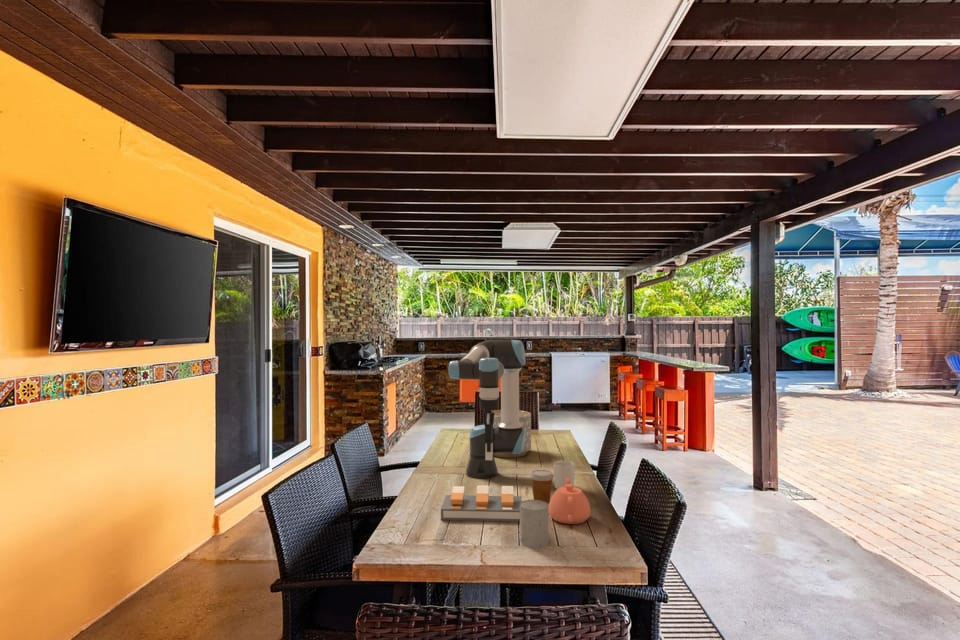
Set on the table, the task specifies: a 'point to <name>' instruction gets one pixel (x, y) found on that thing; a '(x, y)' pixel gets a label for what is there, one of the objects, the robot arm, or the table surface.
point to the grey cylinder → (534, 523)
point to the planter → (526, 425)
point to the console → (480, 510)
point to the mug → (563, 473)
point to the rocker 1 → (457, 495)
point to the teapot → (569, 505)
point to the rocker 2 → (482, 495)
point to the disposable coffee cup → (541, 484)
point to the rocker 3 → (507, 496)
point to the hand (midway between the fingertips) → (489, 459)
